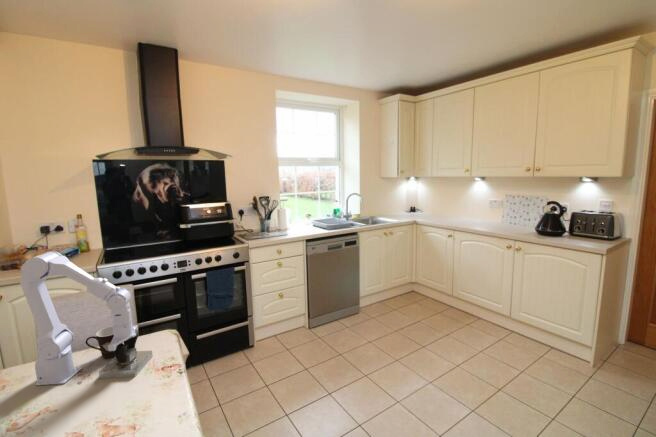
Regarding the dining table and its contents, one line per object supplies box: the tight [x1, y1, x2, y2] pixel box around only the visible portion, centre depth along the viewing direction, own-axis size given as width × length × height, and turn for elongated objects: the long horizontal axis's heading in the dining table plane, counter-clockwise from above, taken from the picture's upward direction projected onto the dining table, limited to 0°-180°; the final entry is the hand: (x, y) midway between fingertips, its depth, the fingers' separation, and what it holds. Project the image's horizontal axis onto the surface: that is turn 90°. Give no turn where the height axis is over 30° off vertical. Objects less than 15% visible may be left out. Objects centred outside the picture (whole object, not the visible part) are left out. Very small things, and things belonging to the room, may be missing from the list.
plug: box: [116, 347, 138, 364], centre depth 112 cm, size 4×4×6 cm
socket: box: [98, 350, 154, 380], centre depth 112 cm, size 12×12×3 cm
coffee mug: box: [85, 325, 124, 361], centre depth 120 cm, size 12×9×10 cm
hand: (126, 358), depth 112 cm, fingers closed on plug, 4 cm apart
